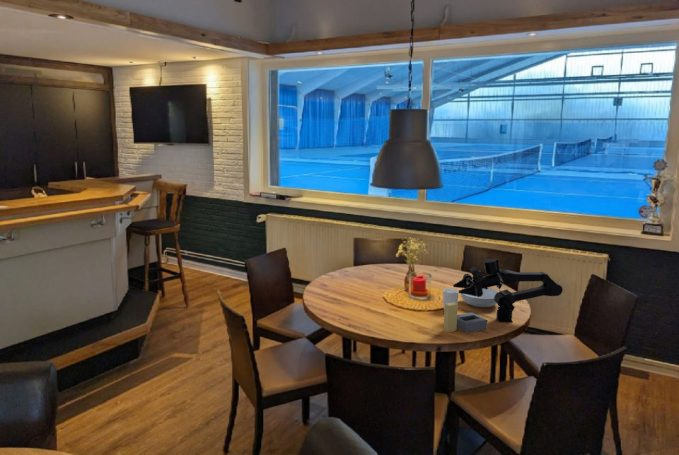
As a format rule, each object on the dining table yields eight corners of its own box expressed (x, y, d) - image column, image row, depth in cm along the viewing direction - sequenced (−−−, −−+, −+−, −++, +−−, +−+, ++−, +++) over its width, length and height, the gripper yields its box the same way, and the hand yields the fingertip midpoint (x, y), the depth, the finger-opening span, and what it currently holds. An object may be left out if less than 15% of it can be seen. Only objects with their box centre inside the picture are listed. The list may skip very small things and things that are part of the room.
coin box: (471, 321, 254) (471, 312, 253) (486, 328, 244) (487, 319, 243) (451, 324, 248) (451, 315, 248) (466, 332, 239) (466, 323, 238)
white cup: (450, 312, 265) (451, 294, 263) (439, 308, 271) (439, 290, 269) (460, 309, 269) (461, 291, 267) (449, 305, 275) (450, 287, 274)
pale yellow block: (452, 328, 244) (453, 302, 241) (456, 330, 241) (457, 304, 239) (443, 330, 242) (444, 303, 239) (447, 332, 239) (448, 305, 237)
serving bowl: (499, 300, 285) (500, 288, 283) (500, 313, 265) (501, 300, 264) (460, 296, 290) (461, 285, 289) (459, 309, 270) (459, 296, 269)
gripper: (478, 260, 258) (447, 268, 258) (491, 271, 240) (458, 278, 240) (481, 281, 261) (451, 288, 260) (495, 293, 242) (462, 301, 242)
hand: (456, 288), depth 250 cm, fingers open, 9 cm apart
